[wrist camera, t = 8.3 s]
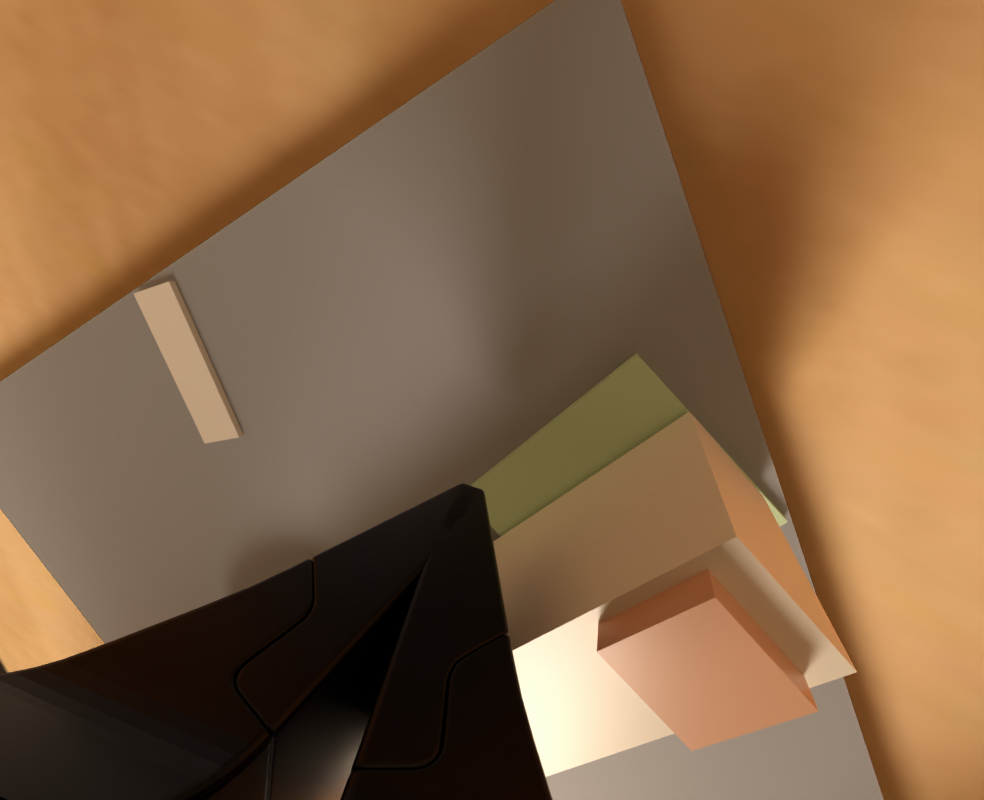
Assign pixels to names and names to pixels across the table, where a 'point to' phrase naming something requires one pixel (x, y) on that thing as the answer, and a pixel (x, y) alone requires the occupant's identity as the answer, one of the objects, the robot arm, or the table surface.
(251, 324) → the grey mat
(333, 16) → the table surface
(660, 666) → the beige bar with disc
